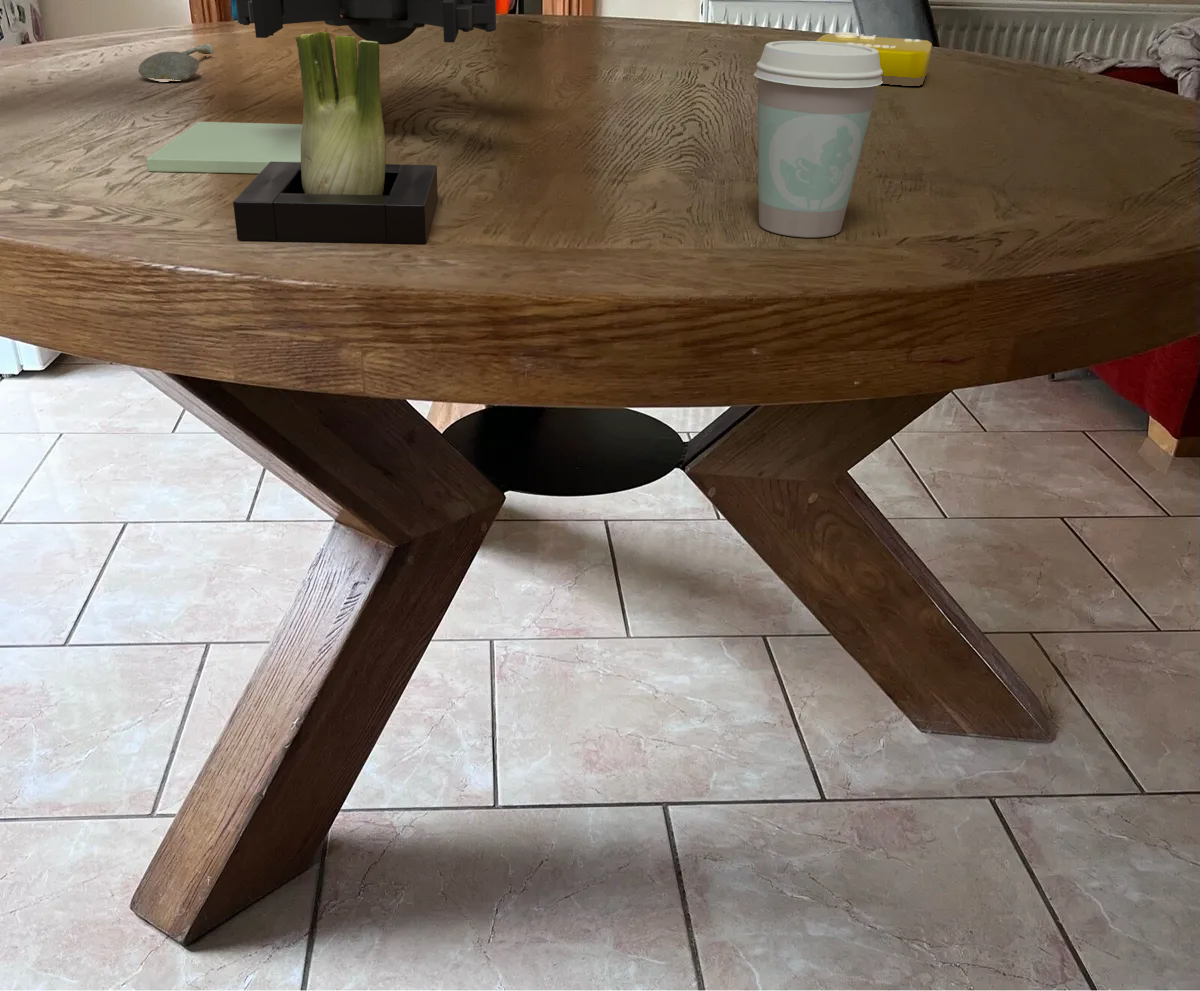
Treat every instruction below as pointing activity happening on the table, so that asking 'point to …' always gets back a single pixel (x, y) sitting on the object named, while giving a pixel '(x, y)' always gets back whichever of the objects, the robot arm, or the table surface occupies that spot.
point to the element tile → (891, 52)
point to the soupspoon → (173, 64)
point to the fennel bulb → (341, 116)
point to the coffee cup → (811, 132)
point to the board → (229, 148)
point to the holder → (337, 208)
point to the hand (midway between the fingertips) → (354, 20)
